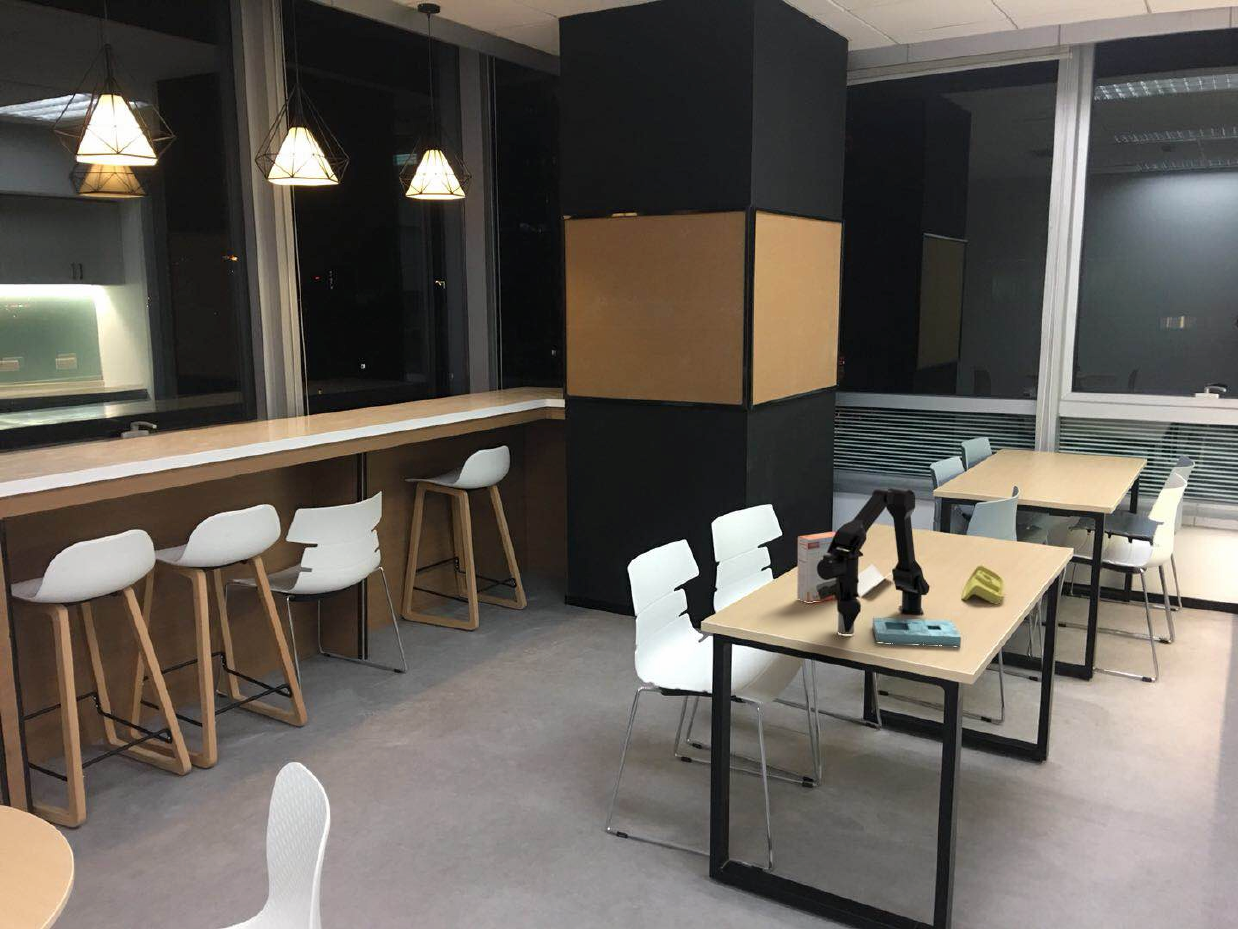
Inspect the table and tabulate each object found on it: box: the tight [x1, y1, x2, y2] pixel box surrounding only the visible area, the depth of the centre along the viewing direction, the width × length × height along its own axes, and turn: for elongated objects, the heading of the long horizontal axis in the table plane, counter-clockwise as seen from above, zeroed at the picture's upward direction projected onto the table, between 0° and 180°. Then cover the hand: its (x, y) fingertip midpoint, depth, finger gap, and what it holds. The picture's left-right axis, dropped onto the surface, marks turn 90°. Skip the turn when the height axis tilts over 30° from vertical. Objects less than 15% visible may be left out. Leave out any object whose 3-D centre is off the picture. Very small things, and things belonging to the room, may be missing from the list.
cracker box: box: [796, 531, 844, 602], centre depth 307 cm, size 14×6×21 cm, turn 115°
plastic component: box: [961, 565, 1005, 605], centre depth 312 cm, size 20×7×10 cm
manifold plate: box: [872, 616, 962, 648], centre depth 273 cm, size 14×22×3 cm, turn 81°
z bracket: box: [858, 563, 893, 597], centre depth 322 cm, size 12×25×6 cm
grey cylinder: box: [837, 611, 855, 634], centre depth 275 cm, size 4×4×8 cm
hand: (846, 626), depth 276 cm, fingers open, 8 cm apart
